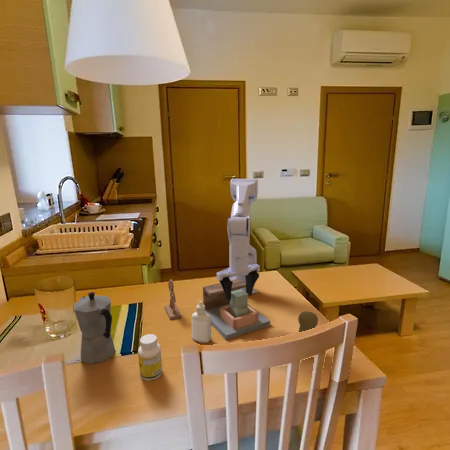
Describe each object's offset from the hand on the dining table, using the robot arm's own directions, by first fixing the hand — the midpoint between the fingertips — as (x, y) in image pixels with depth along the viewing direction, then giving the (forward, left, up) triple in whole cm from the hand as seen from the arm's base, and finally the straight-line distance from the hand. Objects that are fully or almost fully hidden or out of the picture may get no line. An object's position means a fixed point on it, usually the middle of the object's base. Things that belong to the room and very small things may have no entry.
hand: (238, 296), depth 97 cm
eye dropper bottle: (+2, -14, -10) cm, 17 cm away
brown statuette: (-17, -16, -10) cm, 25 cm away
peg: (0, 0, -8) cm, 8 cm away
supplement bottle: (+9, -31, -10) cm, 34 cm away
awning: (-9, 0, -8) cm, 12 cm away
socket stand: (-3, 0, -9) cm, 10 cm away
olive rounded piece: (+21, +9, -9) cm, 25 cm away
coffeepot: (-5, -41, -10) cm, 42 cm away
